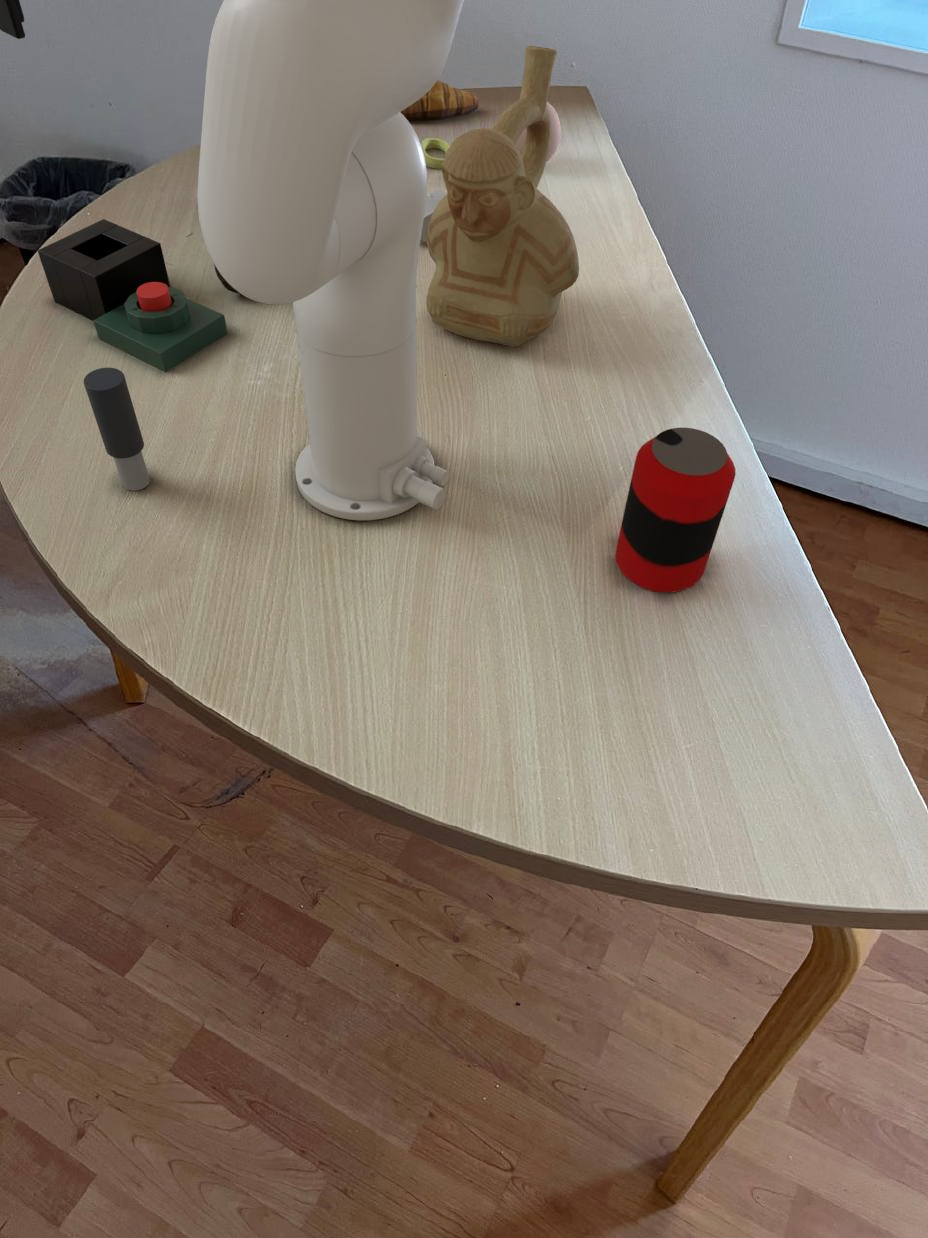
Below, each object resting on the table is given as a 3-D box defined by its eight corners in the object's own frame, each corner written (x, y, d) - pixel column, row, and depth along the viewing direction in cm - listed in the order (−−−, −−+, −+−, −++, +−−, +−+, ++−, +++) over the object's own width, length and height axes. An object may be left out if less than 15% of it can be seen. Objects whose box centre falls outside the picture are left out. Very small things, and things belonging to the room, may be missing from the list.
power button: (178, 303, 96) (175, 287, 95) (155, 316, 95) (151, 301, 93) (156, 293, 98) (153, 278, 96) (133, 306, 96) (129, 290, 94)
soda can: (654, 519, 82) (682, 407, 73) (722, 566, 79) (760, 455, 69) (596, 558, 79) (618, 446, 70) (664, 609, 75) (696, 498, 66)
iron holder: (172, 293, 104) (160, 242, 100) (110, 328, 99) (94, 276, 95) (117, 269, 108) (103, 218, 103) (54, 301, 103) (37, 250, 98)
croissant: (469, 102, 143) (470, 66, 139) (485, 119, 139) (487, 82, 135) (385, 111, 140) (384, 75, 136) (399, 129, 136) (398, 92, 132)
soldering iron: (161, 479, 84) (132, 376, 75) (135, 498, 82) (101, 394, 74) (137, 466, 85) (105, 362, 77) (110, 484, 83) (74, 380, 75)
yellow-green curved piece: (362, 156, 129) (361, 140, 128) (444, 145, 133) (444, 129, 131) (379, 178, 125) (379, 162, 123) (463, 166, 128) (464, 150, 127)
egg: (554, 152, 132) (560, 88, 126) (561, 174, 127) (568, 109, 121) (504, 152, 131) (507, 88, 125) (509, 174, 127) (513, 109, 121)
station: (227, 333, 100) (221, 299, 96) (165, 371, 95) (156, 337, 92) (162, 302, 103) (154, 269, 100) (98, 338, 98) (88, 304, 95)
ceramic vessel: (390, 340, 99) (381, 87, 81) (466, 259, 111) (474, 22, 92) (536, 383, 95) (563, 126, 76) (600, 294, 107) (637, 52, 88)
